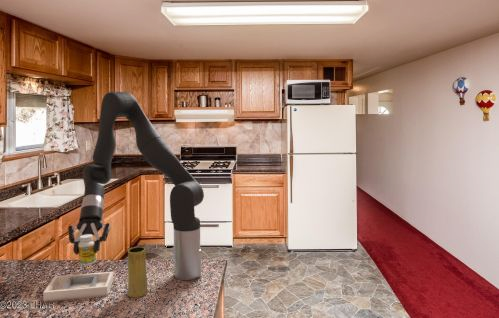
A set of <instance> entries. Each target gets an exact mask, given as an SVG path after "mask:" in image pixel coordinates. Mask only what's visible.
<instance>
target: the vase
mask: <svg viewBox="0 0 499 318" xmlns="http://www.w3.org/2000/svg"><path fill="white" fill-rule="evenodd" d="M146 261H147V260H146V248H145V246H144V247H143V246H134V247H130V248H129V249H128V250H127V268H128V269H127V271H128V272H127V274H128V280H127V281H128V282H127V288H128V289H127V296H128V297H129V298H141V297H143V296H145V295H147V294H148V292H149V290H148V278H147V277H148V276H147V275H148V274H147V264H146V263H147V262H146Z"/></svg>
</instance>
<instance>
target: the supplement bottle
mask: <svg viewBox="0 0 499 318" xmlns="http://www.w3.org/2000/svg"><path fill="white" fill-rule="evenodd" d="M93 238H94V236H93V235H92V234H85V235H82V236H80V241H81V242H80V243H79V244H78V249H79V254H78V258H79V264H80V265H81V266H90V265H93V264H95V263H96V262H97V253H94V245H95V241H96V240H95V241H94V239H93Z"/></svg>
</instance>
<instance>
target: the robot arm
mask: <svg viewBox="0 0 499 318" xmlns="http://www.w3.org/2000/svg"><path fill="white" fill-rule="evenodd" d="M99 113H100V114H99V126H98V133H97V134H98V136H97V139H96V143H95V146H94V149H93V150H94V151H93V153H92V157H91V158H92V161H93V162H94V163H95V164H92V163H89V164H85V166H84V167H83V169H82V181H83V184H84V185H83V186H84V192H83V193H84V194H83V200H82V202H81V207H80V213H79V219H78V223H77V224H76V225H74V226H73V225H68V226H67V228H68V231H67V233H68V240H69V242H70V244H72V245H73V249H72V250H73V253H74V254H75V255H77V256H78V255H79V249H78V244H79V243H80V242H81V241H80V236H82V235H85V234H92V235H93V237H94V238H95V245H94V253H96V254H98V252H100V247H101V243H103V242H106V241H107V239H108V236H109V232H110V230H111V225H110V223H108V222H107V223H103V222H102V221H103V213H104V205H105V201H104V199H105V193H106V192H105V187H104V185H107V184H108V183H109V182H110V181H111V180H112V179H111V178H112V161H113V157H114V153H115V150H116V147H117V146H116V143H117V141H116V137H115V134H114V125H115V124H116V123H115V122H116V120H117V119H119V118H124V117H125V118H126V119H127V120H128V121H129V123H130V124H131V127H133V130H134V131H135V141H136V147H137V149H138V151H139V152H140V154H141V155H142V157H143V158H144V159H145V160H146V162H147V163H148V164H149V165H151V166H152V168H154V169H156V170H157V171H158V172H160V173H161V174H162V175H164V176H166V177H167V178H168V179H169V180H170V181H171V182H172V184H173V185H174V186H173V188H171V191H170V195H169V206H170V207H169V208H170V219H171V222H172V225H173V273H174V274H173V275H174V277H175V279H177V280H180V281H190V280H194V279H196V278H201V277H202V249H201V220H200V218H199V217H197V216H196V214H195V207H197V206H198V205H200V204H202V202H203V200H204V197H205V194H204V190H203V187H202V185H201V184H200V183H199V182H198V181H197V180H196V179H195V177H193V175H192V174H191V173H190V172H189V171H188V169H186V168H185V167H184V166H183V163H182V162H181V161H180V160H179V159H178V157H177V156H176V155H175V153H174V151H172V149H171V148H170V146H169V145H168V144H167V142H166V141H165V139H164V138H163V137H162V136H161V135H160V133H159V132H158V131H157V129H156V128H155V126H154V125H153V124H152V122H151V121H150V120H149V118H148V117H147V115H146V114H145V112H144V110H143V107H141V105H140V104H139V102H138V100H137V99H136V97H135V96H134V95H133V94H132V93H130V92H128V91H110V92H107V93H105V94H104V96H103V97H102V101H101V105H100V112H99ZM151 166H150V167H151ZM101 229H103V231H102V235H99V233H98V232H99V231H100V230H101ZM77 230H78V232H77V234H76V237H75V233H76V231H77Z"/></svg>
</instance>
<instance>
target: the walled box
mask: <svg viewBox="0 0 499 318" xmlns="http://www.w3.org/2000/svg"><path fill="white" fill-rule="evenodd" d="M113 282H114V272H113V271H108V272H107V271H106V272H95V273H79V274H69V275H57V276H56V275H55V276H54V277H53V279H51V281H50V283H49V284H48V285H47V286H46V288H45V289H44V290H43V293H42V296H43V303H46V302H56V301H58V302H59V301H68V300H69V301H70V300H79V299H87V298H88V299H90V298H97V297H98V298H99V297H108V296H109V292H110V291H111V288H112V285H113Z"/></svg>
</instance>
